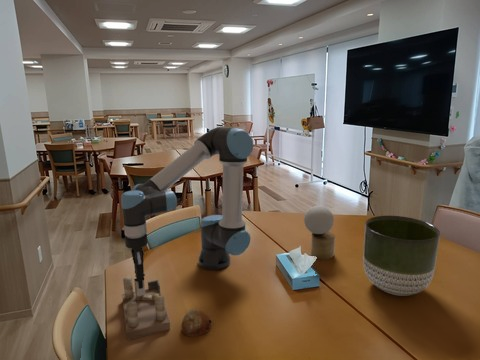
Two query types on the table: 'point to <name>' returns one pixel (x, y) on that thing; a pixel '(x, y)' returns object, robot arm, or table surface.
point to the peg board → (144, 311)
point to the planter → (400, 253)
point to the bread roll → (196, 323)
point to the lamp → (320, 231)
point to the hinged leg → (145, 297)
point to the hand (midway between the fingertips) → (141, 294)
